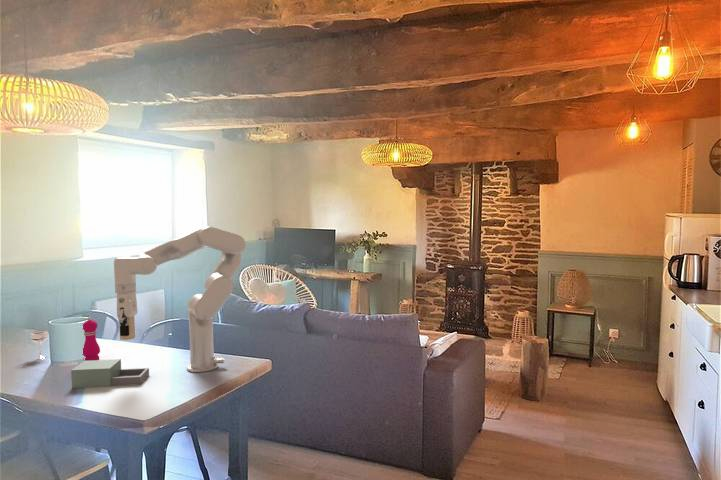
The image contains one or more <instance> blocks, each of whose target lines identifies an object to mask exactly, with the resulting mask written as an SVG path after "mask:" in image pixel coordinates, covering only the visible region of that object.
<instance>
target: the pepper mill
mask: <svg viewBox="0 0 721 480" xmlns="http://www.w3.org/2000/svg"><path fill="white" fill-rule="evenodd" d="M84 322H85V323H84ZM84 322H83V323H84V324H83V323H82V326H83V328H82V330H83V331H84V332H83V335H84V338H85V339H84V340H85V341H84V344H83V346H84V348H83V347H82V349H83V354H82V355H83V357H86V358H85V361H90V360H100V355H99V354H100V353H101V347H100V345H99V344H98V342H97V337H96V336H97V329H98V322H97V321H95V320H93V317H91V316H88V317H87V320H86V321H84Z"/></svg>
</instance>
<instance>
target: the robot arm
mask: <svg viewBox="0 0 721 480" xmlns="http://www.w3.org/2000/svg"><path fill="white" fill-rule="evenodd" d="M246 243H247V242H246V240H245V238H244V237H243V236H242V235H240V234H238V233H235V232H234V233H233V232H230V231H226V230H223V229H220V228H217V227H215V226H209V225H202V226H199V227H197V228H194V229H192V230H190V231H189V232H187V233H185V234H182V235H180V236H177V237H176V238H174V239H171V240H169V241H167V242H165V243H162V244H161V245H160V244H159V245H158V246H155V247H152V248H151V249H149V250H146V251H145V252H144V251H143V252H142V253H140V254H138V255H137V256H136V257H133V256H119V257H116V258H114V260H113V272H114V273H113V275H114V277H113V278H114V293H115V294H116V317H117V318H118V319H117V321H118V325H120V331H119V337H120V336H129V325H128V318H131V317H133V316H134V317H135V316H136V315H137V314H138V301H137V294H136V292H137V281H136V279H137V276H136V275H142V276H146V275H147V276H149V275H151V274H153V273H154V272H155V271H156V270H157V268H158V267H159V266H160V265H163V264H165V263H168V262H171V261H176V260H180V259H184V258H186V257H188V256H190V255H191V254H194V253H195V252H198V251H200V250H202V249H204V248H206V247H207V248H211V249H213V250H215V251H220V252H221V256H220V257H221V258H220V260H219V262H218V263H217V265H216V266H215V268H214V269H213V270H212V271H211V273H210V274H209V275H208V277H207V278H206V280H205V281H204V289H205V291H204V292H203V293H196V294H194V295H193V296H191V297H190V299H189V300H188V301H187V314H188V315H187V316H188V317H187V318H188V324H189V325H188V326H189V327H188V328H189V352H190V353H189V355H190V358H189V360H190V361H189V362H190V363H189V364H188V365H187V366H186V370H187V371H188V372H191V373H205V372H211V371H212V370H215V369H217V368H218V367H219V365H218V364H222V365H223V364H225V358H223V357H216V354H214V353H215V351H214V321H213V318H215V317H216V316H217V315H218V313H219V312H220V310H221V309H222V307H224V305H225V303H226V302H227V301H228V299H229V298H230V296H231V294H232V293H233V289H234V284H233V281H232V280H233V278H234V276H235V275H236V273H237V271H238V270H239V268H240V266H241V263H242V253H243V252H244V251H245V249H246ZM123 316H126V318H123ZM124 319H126V322H125V320H124ZM119 323H120V324H119Z"/></svg>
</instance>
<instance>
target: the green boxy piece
mask: <svg viewBox="0 0 721 480" xmlns="http://www.w3.org/2000/svg"><path fill="white" fill-rule="evenodd" d="M70 373H71V375H70V376H71V377H70V378H71V389H78V388H80V389H83V388H84V389H85V388H101V387H104V388H105V387H113V386H115V387H117V386H133V385H134V386H135V385H137V386H139V385H142V383H144V382H145V380H146V379H147V378H148V377H149V376H150V368H149V367H144V368H143V367H142V368H141V367H139V368H137V367H136V368H122V360H121V358H119V359H117V358H116V359H113V358H112V359H99V360H90V361H84V360H83V361H82V362H80V363H79V364H78V365H76V366H75V367H73V368H72V369H71V370H70Z"/></svg>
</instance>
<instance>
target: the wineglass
mask: <svg viewBox="0 0 721 480" xmlns="http://www.w3.org/2000/svg"><path fill="white" fill-rule="evenodd" d="M48 338H49V337H48V330H47V329H46V330H45V329H41V330H35V331H30V340H31V341H32V342H33V343H35V344H37V345H38V352H39V353H38V354H39V355H38V356H36V357H34V358H33V360H43V359H45V357H46V355H41V354H42V353H41V351H42V349H41V347H42V346H41V345H42V343H44V342H46V341H47V339H48ZM42 358H43V359H42ZM46 358H47V357H46Z"/></svg>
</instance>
